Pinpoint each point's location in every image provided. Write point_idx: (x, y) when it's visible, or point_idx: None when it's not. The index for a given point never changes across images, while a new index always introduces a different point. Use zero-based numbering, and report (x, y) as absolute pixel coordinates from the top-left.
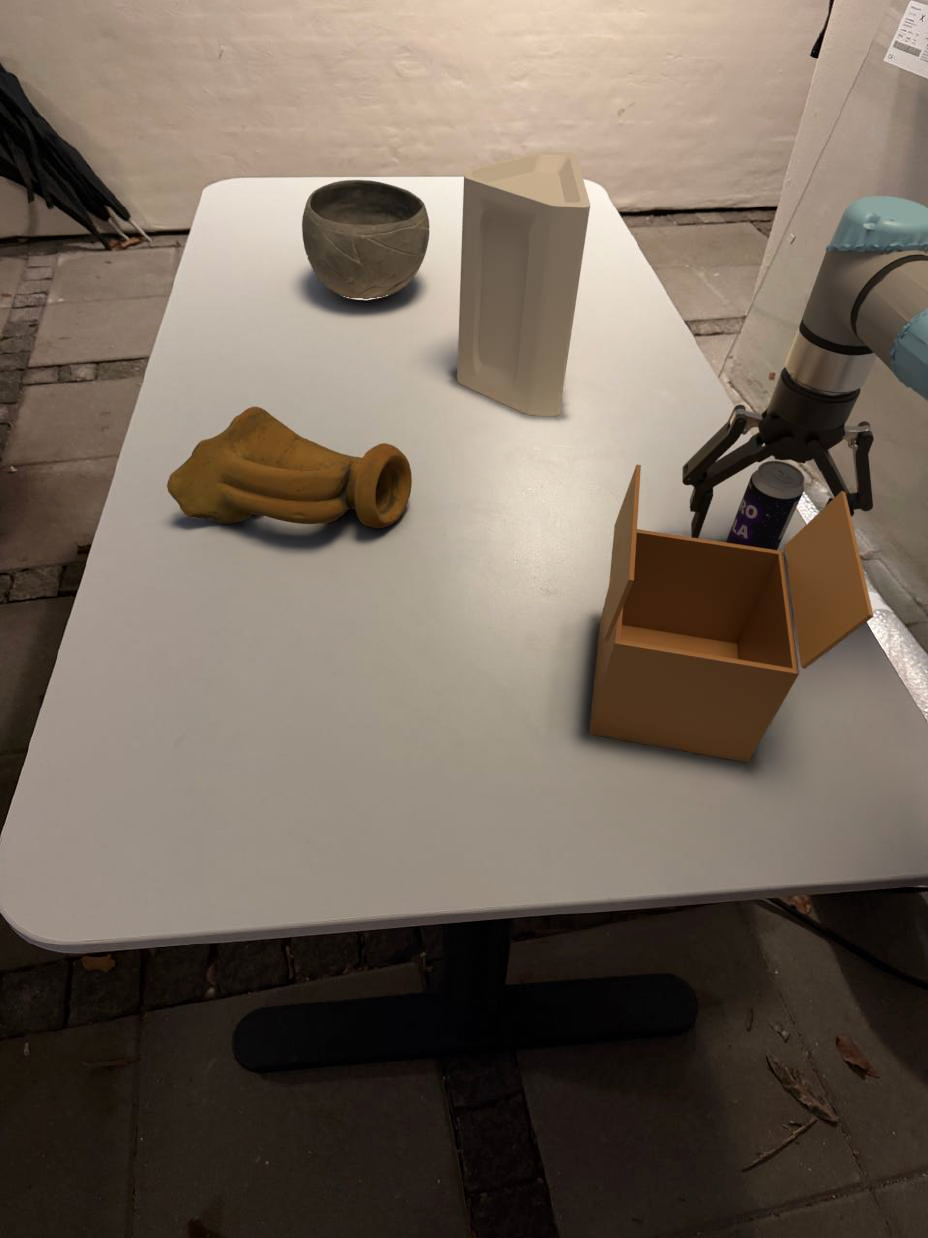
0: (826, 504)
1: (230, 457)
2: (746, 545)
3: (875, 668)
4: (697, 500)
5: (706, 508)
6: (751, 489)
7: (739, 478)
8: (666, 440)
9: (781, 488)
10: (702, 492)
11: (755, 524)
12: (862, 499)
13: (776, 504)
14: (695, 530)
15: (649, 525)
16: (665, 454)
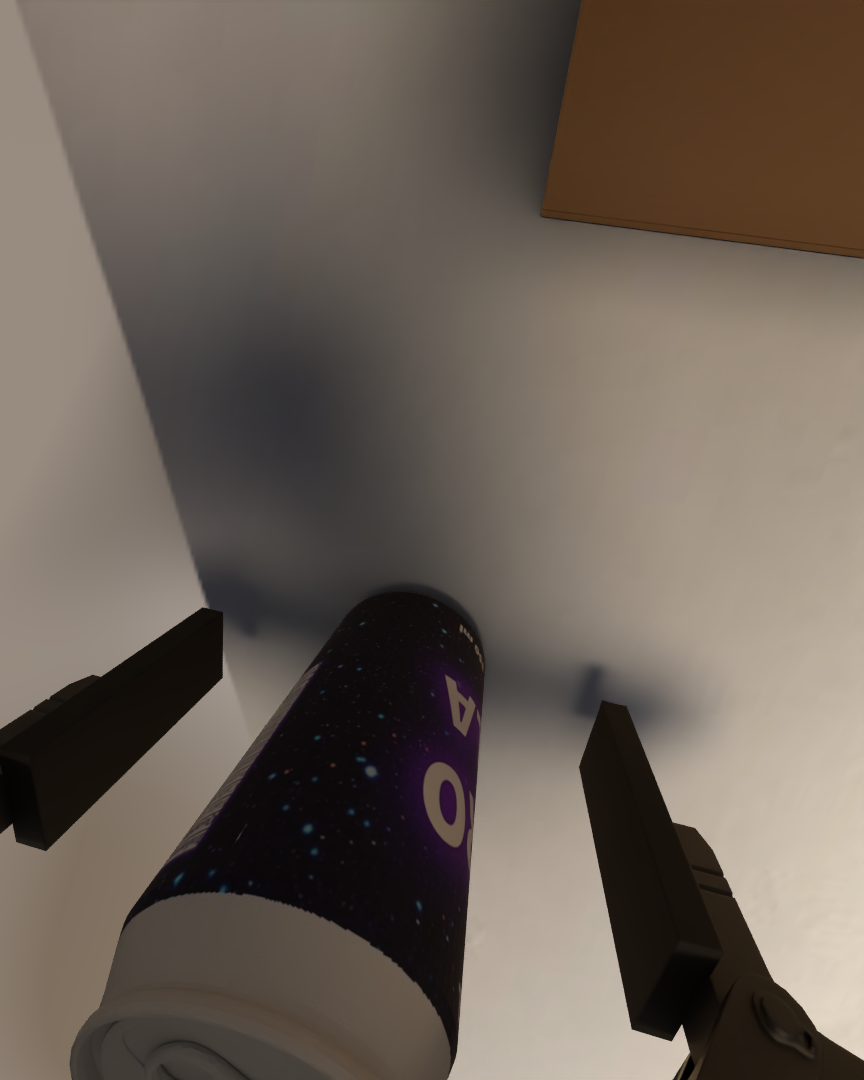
0: (82, 812)
1: None
2: (443, 650)
3: (88, 150)
4: (708, 896)
5: (656, 841)
6: (457, 978)
7: None
8: (533, 1040)
9: (251, 1022)
10: (722, 961)
11: (423, 726)
12: None
13: (314, 844)
14: (632, 733)
15: (694, 780)
16: (550, 1003)
